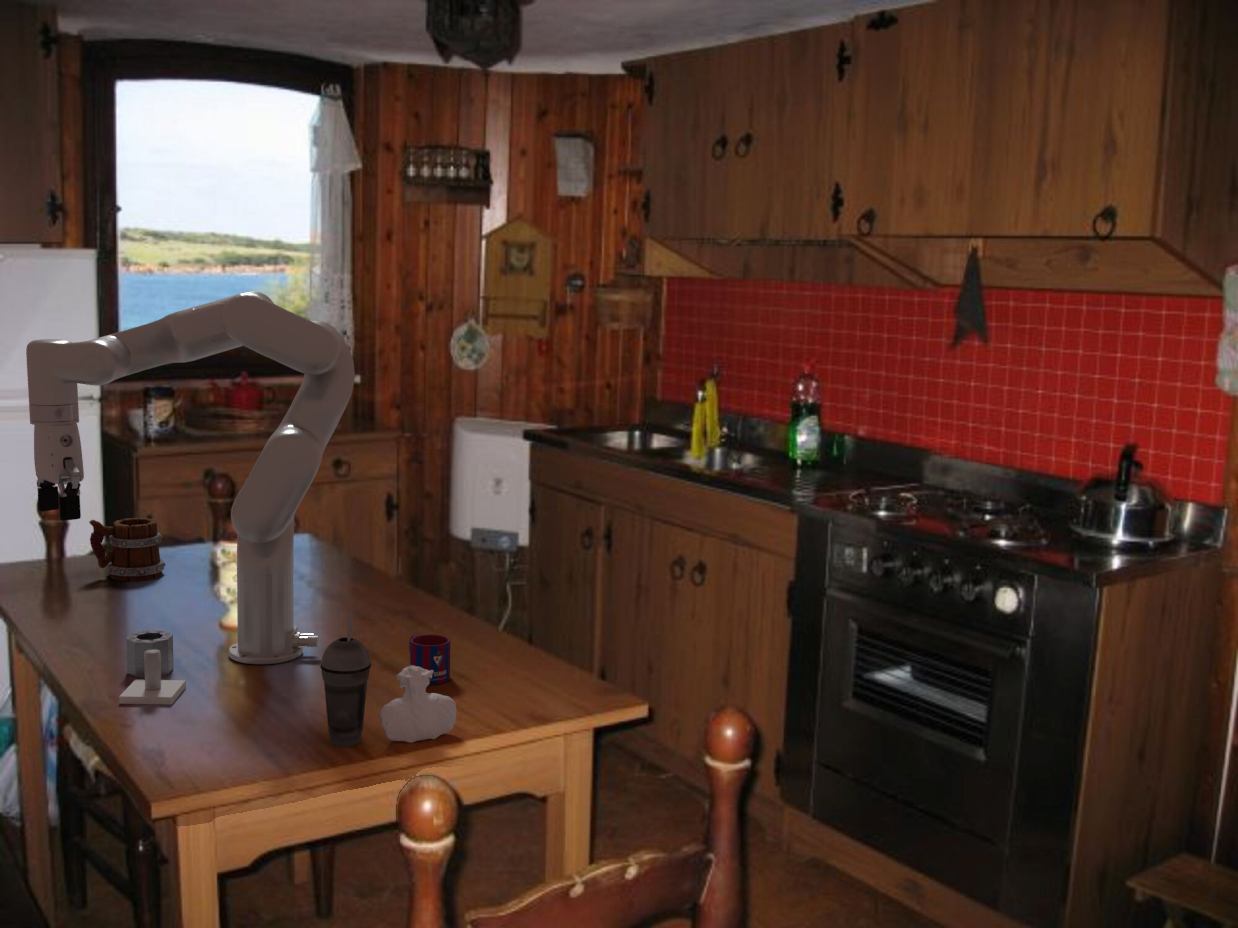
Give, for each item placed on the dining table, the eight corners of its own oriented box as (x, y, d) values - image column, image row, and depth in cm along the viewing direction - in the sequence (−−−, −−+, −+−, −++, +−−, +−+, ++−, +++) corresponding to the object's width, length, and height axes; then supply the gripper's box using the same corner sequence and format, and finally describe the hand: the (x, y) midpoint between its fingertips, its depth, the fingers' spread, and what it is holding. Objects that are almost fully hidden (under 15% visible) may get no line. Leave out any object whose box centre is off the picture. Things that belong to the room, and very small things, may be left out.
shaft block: (185, 687, 209) (185, 644, 208) (171, 704, 201) (170, 660, 200) (135, 686, 208) (134, 643, 207) (119, 703, 200) (118, 659, 199)
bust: (453, 742, 196) (437, 672, 200) (469, 726, 190) (452, 654, 194) (377, 754, 190) (362, 682, 194) (391, 738, 184) (376, 664, 189)
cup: (418, 687, 213) (419, 647, 212) (397, 669, 222) (397, 631, 220) (456, 681, 216) (456, 642, 215) (433, 664, 225) (433, 627, 224)
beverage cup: (349, 727, 194) (349, 599, 191) (381, 740, 189) (382, 609, 186) (309, 740, 188) (309, 608, 185) (341, 754, 184) (342, 618, 181)
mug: (175, 577, 276) (161, 510, 272) (106, 595, 268) (91, 527, 265) (162, 565, 285) (148, 500, 281) (95, 582, 278) (80, 516, 274)
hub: (176, 664, 220) (176, 630, 219) (165, 677, 213) (164, 642, 212) (136, 663, 219) (135, 629, 218) (123, 676, 213) (122, 641, 212)
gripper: (97, 418, 210) (102, 520, 213) (58, 407, 223) (63, 504, 226) (50, 421, 205) (55, 526, 208) (12, 410, 218) (18, 509, 221)
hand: (59, 514), depth 217 cm, fingers open, 9 cm apart
